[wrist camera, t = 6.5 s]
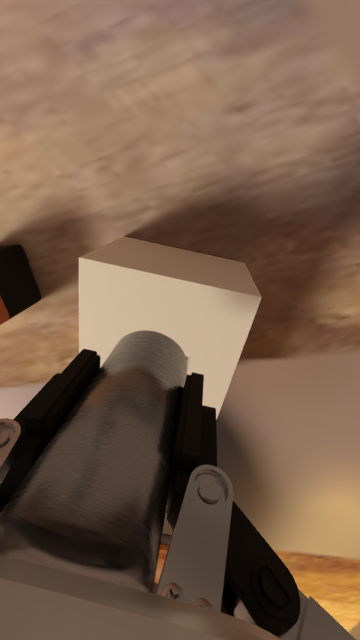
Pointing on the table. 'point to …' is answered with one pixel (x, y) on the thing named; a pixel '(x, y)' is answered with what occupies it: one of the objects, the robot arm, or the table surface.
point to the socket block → (169, 305)
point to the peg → (105, 471)
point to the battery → (15, 283)
